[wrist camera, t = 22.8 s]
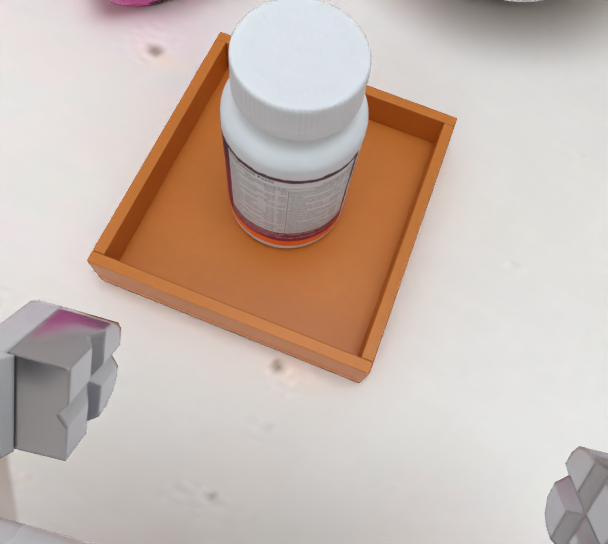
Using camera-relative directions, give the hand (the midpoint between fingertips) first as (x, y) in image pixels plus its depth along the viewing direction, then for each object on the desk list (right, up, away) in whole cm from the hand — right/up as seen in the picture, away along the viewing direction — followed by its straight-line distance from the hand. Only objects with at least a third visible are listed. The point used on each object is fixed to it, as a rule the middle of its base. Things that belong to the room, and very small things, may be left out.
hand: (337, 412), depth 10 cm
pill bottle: (-2, +6, +21) cm, 22 cm away
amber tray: (-2, +6, +21) cm, 22 cm away
